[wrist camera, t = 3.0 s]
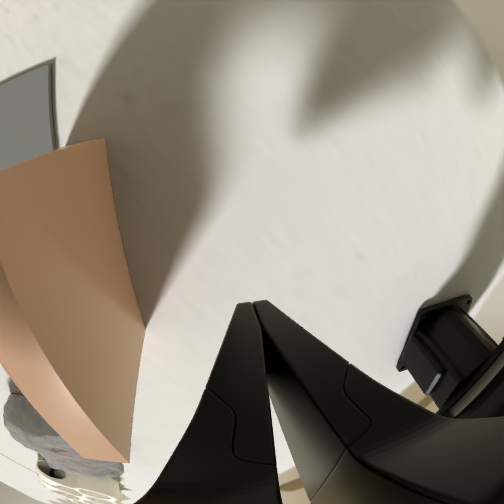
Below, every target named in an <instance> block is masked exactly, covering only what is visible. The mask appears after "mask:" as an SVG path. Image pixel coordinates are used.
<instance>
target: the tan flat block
mask: <svg viewBox="0 0 504 504" xmlns="http://www.w3.org/2000/svg"><path fill="white" fill-rule="evenodd" d="M145 330H146V328H145V325H144V322H143V319H142V316H141V312H140V309H139V306H138V302H137V299H136V295H135V292H134V288H133V285H132V281H131V277H130V273H129V269H128V265H127V261H126V257H125V253H124V248H123V244H122V239H121V235H120V230H119V225H118V220H117V215H116V209H115V204H114V198H113V192H112V186H111V179H110V172H109V165H108V157H107V148H106V138H105V137H103V138H98V139H94V140H89V141H85V142H81V143H76V144H72V145H68V146H65V147H61V148H58V149H55V150H51V151H48V152H45V153H42V154H39V155H36V156H33V157H30V158H27V159H25V160H22V161H19V162H17V163H14V164H11V165H9V166H6V167H4V168H1V169H0V363H1V365H2V366H3V368H4V369H5V371H6V372H7V374H8V375H9V376H10V378H11V379H12V380H13V382H14V383H15V384H16V386H17V387H18V388H19V390H20V391H21V392H22V393H23V395H24V396H25V397H26V398H27V400H28V401H29V402H30V403H31V405H32V406H33V407H34V408H35V409H36V410H37V412H38V413H39V414H40V415H41V416H42V417H43V418H44V419H45V420H46V422H47V423H48V424H49V425H50V426H51V427H52V428H53V429H54V430H55V431H56V432H57V433H58V434H59V435H60V436H61V437H62V438H63V439H64V440H65V441H66V442H67V443H68V444H69V445H70V446H71V447H72V448H73V449H74V450H75V451H77V452H78V453H79V454H80V455H81V456H82V457H83V458H87V459H94V460H101V461H110V462H121V463H130V447H131V434H132V423H133V413H134V404H135V395H136V387H137V380H138V373H139V366H140V359H141V353H142V347H143V341H144V335H145Z"/></svg>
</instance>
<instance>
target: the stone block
mask: <svg viewBox="0 0 504 504" xmlns="http://www.w3.org/2000/svg"><path fill="white" fill-rule="evenodd" d="M3 416H4V425H5V427H6V428H7V429H8V430H9V432H10V434H11V436H12V437H13V438H14V439H15V440H16V441H18V442H19V443H21V444H23V445H24V446H25V447H26V448H30V449H32V450H34V451H36V452H39V454H40V455H41V456H42V457H43V458H45V460H46V462H47V463H48V465H49V466H50V467H51V468H54V469H61V470H64V471H66V472H71V473H74V474H78V475H80V476H82V477H88V478H97V479H104V478H110V477H117V476H120V475H122V474H123V473H124V465H123V464H122V463H121V462H110V461H101V460H94V459H87V458H83V457H82V456H81V455H80V454H79V453H78V452H77V451H75V450H74V449H73V448H72V447H71V446H70V445H69V444H68V443H67V442H66V441H65V440H64V439H63V438H62V437H61V436H60V435H59V434H58V433H57V432H56V431H55V430H54V429H53V428H52V427H51V426H50V425H49V424H48V423H47V422H46V420H45V419H44V418H43V417H42V416H41V415H40V414H39V413H38V412H37V410H36V409H35V408H34V407H33V406H32V405H31V403H30V402H29V401H28V400H27V398H26V397H25V396H24V395H18V394H14V393H12V394H11V395H10V396H9V397H8V400H7V402H6V404H5V405H4V414H3Z"/></svg>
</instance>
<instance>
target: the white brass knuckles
mask: <svg viewBox="0 0 504 504" xmlns="http://www.w3.org/2000/svg"><path fill="white" fill-rule="evenodd" d="M50 468H51V467H50V466H49V465H48V463H47V462H46V460H39V461H37V464H36V469H37V472H38V473H37V476H38V481H39V482H40V484H41V485H42V486H43V487H44V488H46V489H48V490H49V491H51V492H53V493H55V494H58V495H60V496H63V497H65V498H68V499H70V500H71V501H73V502H75V503H77V504H123V503H121V501H124V500H128V499H131V498H129V497H127V496H126V495H124V494H122V493H121V489H120V488H119V482H118V481H116V480H115V479H113V478H104V479H97V478H88V477H82V476H80V475H78V474H74V473H71V472H66V471H64V470H61V469H54V470H55V471H54V473H55V478H52V477H50V476H49V471H50Z"/></svg>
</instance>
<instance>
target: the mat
mask: <svg viewBox="0 0 504 504" xmlns="http://www.w3.org/2000/svg"><path fill="white" fill-rule="evenodd" d="M55 149H56V147H55V138H54V127H53V114H52V93H51V64H47V65H44V66H42V67H39V68H37V69H35V70H32V71H30V72H28V73H25V74H23V75H21V76H19V77H16V78H14V79H12V80H10V81H8V82H6V83H4V84H2V85H0V169H1V168H4V167H6V166H9V165H11V164H14V163H17V162H19V161H22V160H25V159H27V158H30V157H33V156H36V155H39V154H42V153H45V152H48V151H51V150H55Z"/></svg>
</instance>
